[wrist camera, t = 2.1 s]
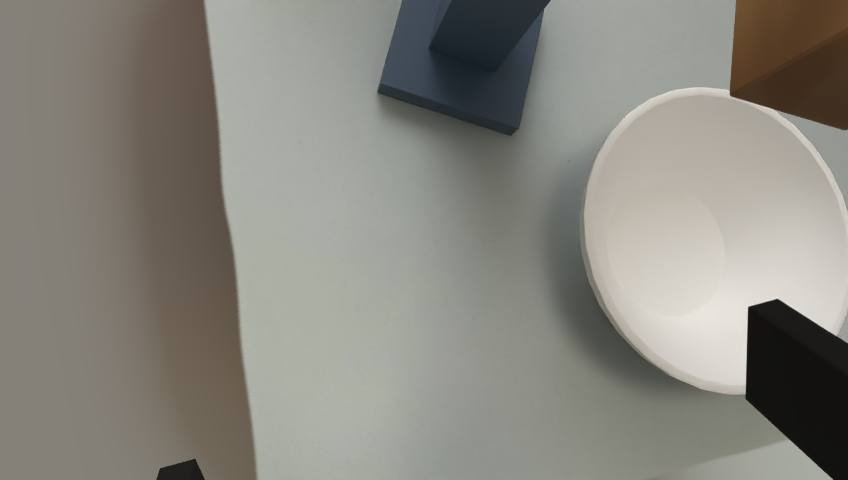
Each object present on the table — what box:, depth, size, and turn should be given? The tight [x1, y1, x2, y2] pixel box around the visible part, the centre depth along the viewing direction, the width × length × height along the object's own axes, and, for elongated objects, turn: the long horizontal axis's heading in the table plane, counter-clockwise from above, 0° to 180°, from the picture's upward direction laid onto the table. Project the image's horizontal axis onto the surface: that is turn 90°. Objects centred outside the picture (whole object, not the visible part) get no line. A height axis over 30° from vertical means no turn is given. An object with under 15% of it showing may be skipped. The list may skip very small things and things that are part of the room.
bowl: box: [579, 87, 848, 395], centre depth 40 cm, size 20×20×7 cm
